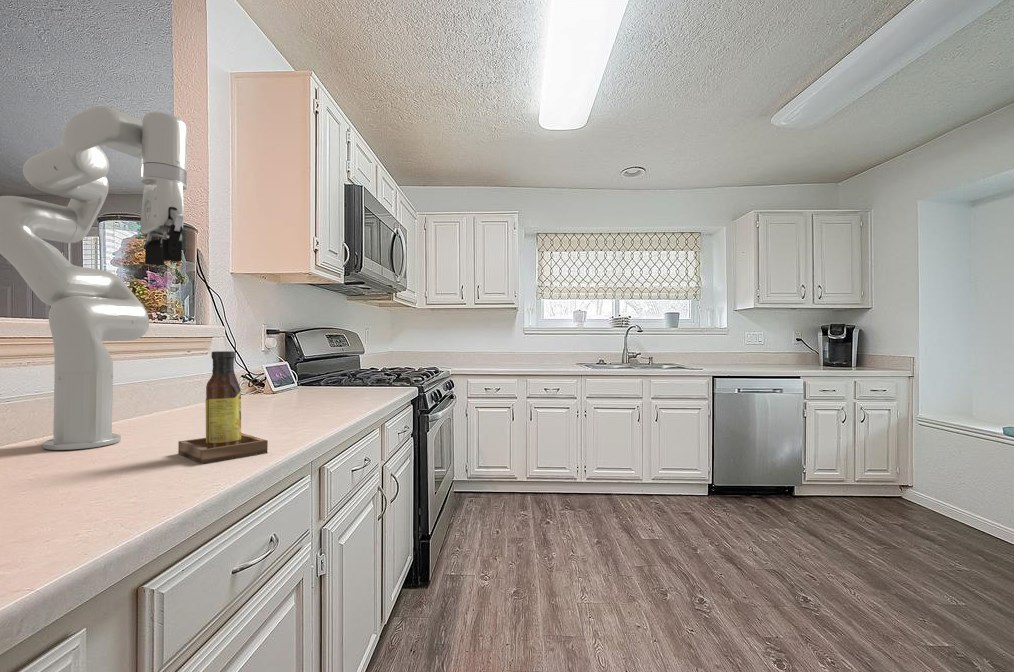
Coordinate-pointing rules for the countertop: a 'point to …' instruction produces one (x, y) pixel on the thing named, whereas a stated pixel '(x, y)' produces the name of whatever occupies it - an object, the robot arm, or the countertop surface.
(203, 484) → the countertop surface
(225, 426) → the sauce bottle
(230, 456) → the tray
